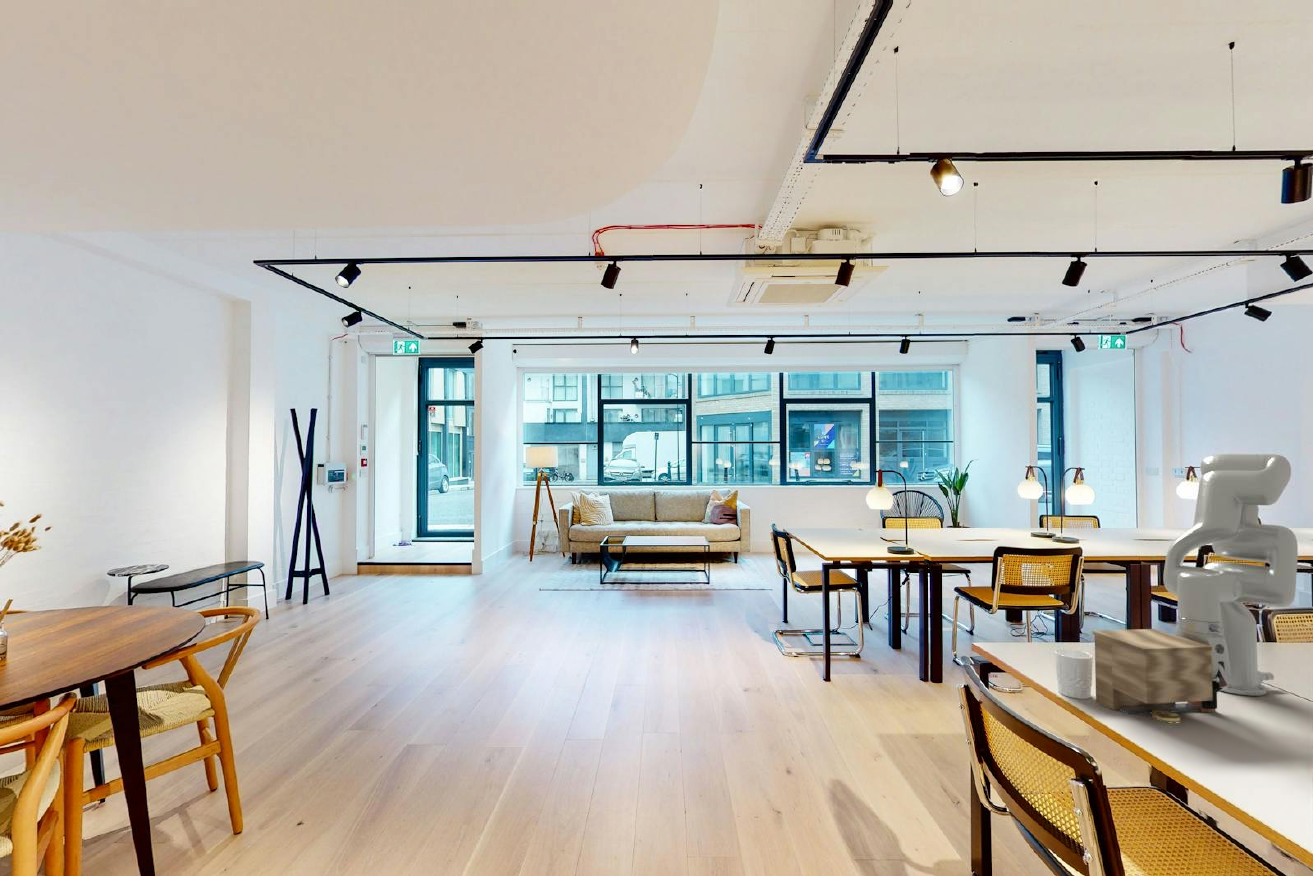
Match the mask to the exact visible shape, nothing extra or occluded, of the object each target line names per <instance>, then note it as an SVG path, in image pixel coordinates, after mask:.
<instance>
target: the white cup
mask: <svg viewBox="0 0 1313 876" xmlns="http://www.w3.org/2000/svg"><path fill="white" fill-rule="evenodd" d="M1093 657H1094V656H1093V655H1092V654H1091V653H1089V652H1086V651H1083V650H1078V649H1073V648H1057V649H1055V650H1054V659H1055V660H1054V661H1055V671H1056V672H1055V673H1056V680H1057V689H1058V693H1060V694H1061V695H1063V696H1065V697H1068V698H1072V699H1077V700H1078V699H1079V700H1087V699H1091V697H1092V687H1093V686H1092V685H1093V684H1092V683H1093V666H1094V665H1093V662H1094V661H1093V660H1094V659H1093Z"/></svg>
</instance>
